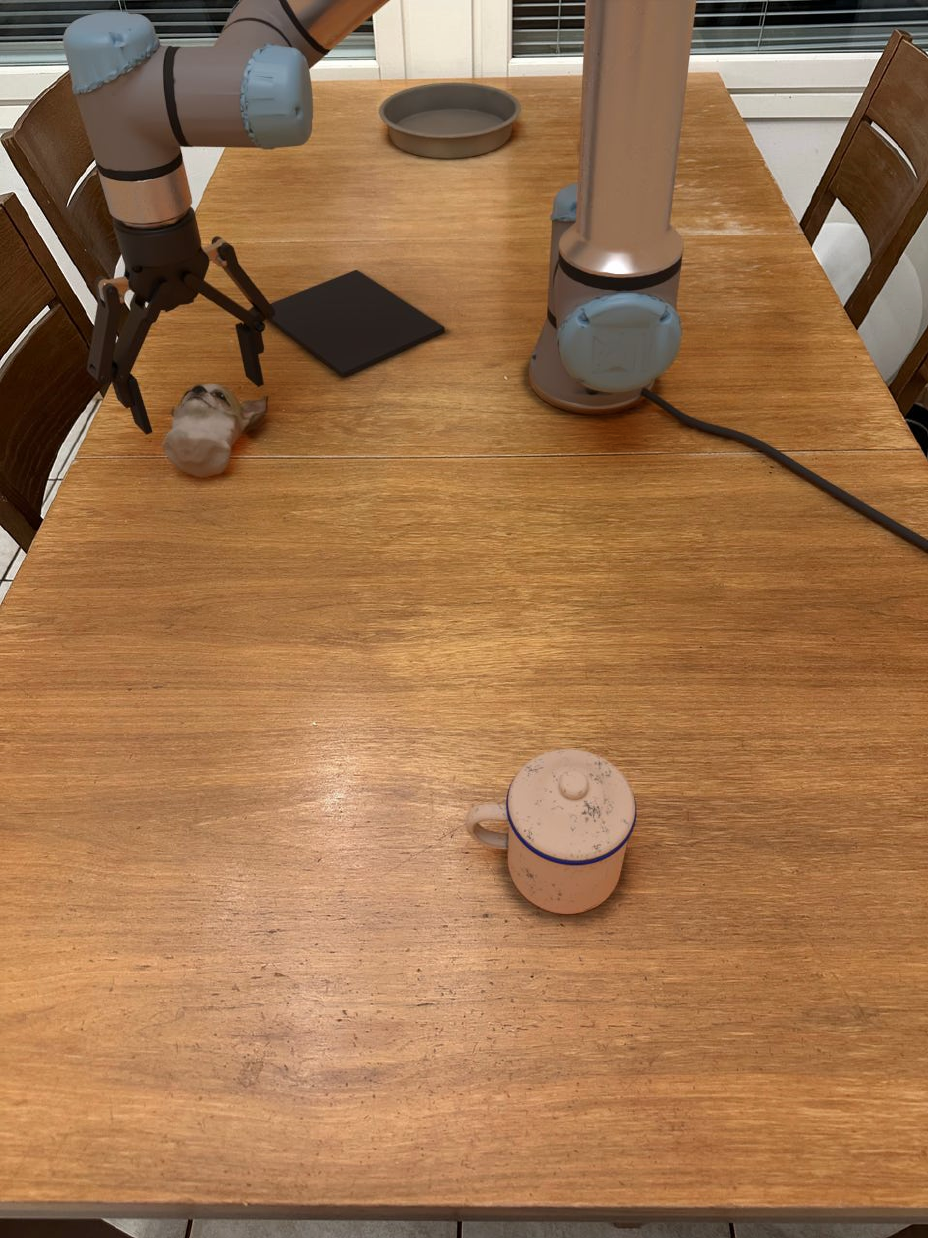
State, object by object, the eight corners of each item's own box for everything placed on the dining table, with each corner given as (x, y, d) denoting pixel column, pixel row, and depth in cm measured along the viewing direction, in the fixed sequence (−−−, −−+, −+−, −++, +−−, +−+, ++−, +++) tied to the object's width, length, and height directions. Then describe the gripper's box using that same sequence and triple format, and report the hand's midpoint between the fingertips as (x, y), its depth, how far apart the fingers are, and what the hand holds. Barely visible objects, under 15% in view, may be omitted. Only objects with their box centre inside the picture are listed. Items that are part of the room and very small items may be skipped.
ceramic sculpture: (127, 419, 97) (174, 346, 107) (147, 487, 103) (189, 412, 113) (228, 425, 96) (266, 351, 106) (242, 494, 102) (276, 418, 113)
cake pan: (545, 123, 169) (546, 96, 165) (473, 174, 155) (472, 146, 152) (430, 98, 178) (429, 71, 174) (352, 144, 164) (349, 116, 161)
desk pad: (444, 332, 123) (444, 326, 123) (343, 378, 117) (342, 372, 116) (357, 274, 134) (356, 269, 133) (259, 313, 127) (258, 308, 127)
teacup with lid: (621, 814, 75) (639, 729, 67) (625, 923, 69) (645, 845, 60) (471, 805, 76) (469, 719, 67) (462, 912, 70) (458, 833, 61)
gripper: (248, 161, 95) (280, 348, 110) (4, 236, 84) (78, 431, 100) (289, 186, 91) (315, 376, 106) (38, 269, 80) (109, 466, 96)
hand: (200, 403), depth 103 cm, fingers open, 13 cm apart
